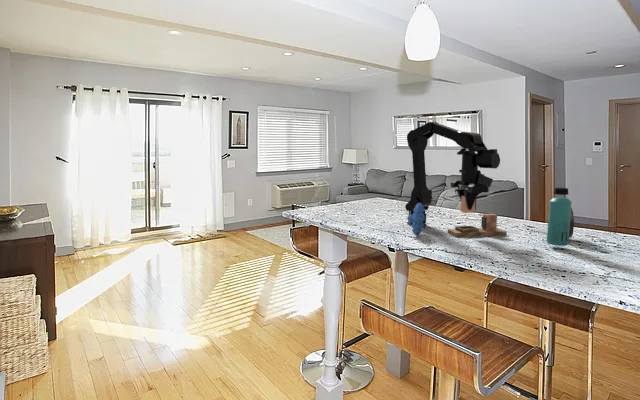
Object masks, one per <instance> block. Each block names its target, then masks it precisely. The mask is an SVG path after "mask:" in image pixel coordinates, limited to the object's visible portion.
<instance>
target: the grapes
mask: <svg viewBox="0 0 640 400" xmlns="http://www.w3.org/2000/svg"><path fill="white" fill-rule="evenodd" d="M424 210H425V209H424V207H423V205H422V204H421V203H418V204H417V205H416V206H415V208H414V209H413V211H414V213H413V214H411V215H409V214H408V216H407V217H406V219H407V222H408V221H409V222H410V223H413V224H412V225H410V227H411V228H412V230H411V231H412V233H413V235H415V236H418V235H420V234H422V233H423V227H424V223H423V221H424V220H425V219H424V217H425V215H424V214H423V213H422V212H423V211H424ZM425 211H426V210H425Z"/></svg>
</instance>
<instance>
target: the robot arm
mask: <svg viewBox="0 0 640 400" xmlns="http://www.w3.org/2000/svg"><path fill="white" fill-rule="evenodd" d="M434 135H437V136H440V137H443V138H445V139H449V140H452V141H454V142H455V144H457V145H458V146H459V147H461V149H460V150H459V151H458V152H456V154H457V156H459V155H460V156H461V169H459V170H458V172H459V173H460V179H453V180H451V182H450V188H453V189H455V191H456V194H457V196H458V197H459V200H460V201H461V197H462V196H465V199H466V203H467V207H468V210H471V209H472V206H473V204H474V201H475V199H476V200H477V197H478V195H480V194H482V193H489V190H490V188H491V186H492V183H493V181H494V179H493V178H491V177H489V176H485V174H484V173H481V172H482V171H481V170H480V169H498V168H499V166H500V164H501V157H500V155H499V153H498V149H497V148H492V149H491V148H490V149H488V147H487V145H486V144H485V143H484V141H483V137H482V135H481V134H480V133H479V132H478V133H477V132H470V131H462V130H458V129H455V128H452V127H449V126H447V125H444V124H441V123H439V122H437V121H427V122H426V123H425V124H423V125H420V126H418V127H417V128H415V129H412V130H409V131H408V133H407V135H406V141H407V146H408V147H409V150H410V151H411V154H412V155H411V156H412V157H411V158H412V170H413V172H412V175H413V187H412V190H411V193H410V199H409V201H408V202H407V203H406V204H405V205H404V207H405V211H406V212H408V216H409V215H411V214H413V213H414V211H413V209H414V208H415V206H416V205H417V204H418V203H421V204H422V205H423V207H424V209H425V210H424V211H423V212H422V213H423V214H424V215H425V217H424V219H425V220H424V221H423V223H424V226H427V213H426V211H428V210H429V207H430V205H431V204H432V201H433V190H432V189H429V188H428V186H427V177H426V176H427V174H426V173H427V172H426V159H425V158H426V156H425V150H426V149H427V146H428V141H429V139H430V138H432V137H433V136H434ZM479 168H480V169H479ZM406 224H408V225H409V226H411V225H412V224H413V223H410V222H409V221H408V220H407V222H406ZM424 226H423V227H424Z"/></svg>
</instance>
